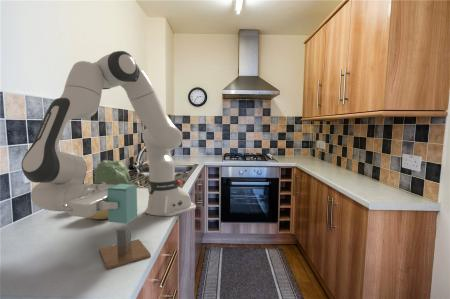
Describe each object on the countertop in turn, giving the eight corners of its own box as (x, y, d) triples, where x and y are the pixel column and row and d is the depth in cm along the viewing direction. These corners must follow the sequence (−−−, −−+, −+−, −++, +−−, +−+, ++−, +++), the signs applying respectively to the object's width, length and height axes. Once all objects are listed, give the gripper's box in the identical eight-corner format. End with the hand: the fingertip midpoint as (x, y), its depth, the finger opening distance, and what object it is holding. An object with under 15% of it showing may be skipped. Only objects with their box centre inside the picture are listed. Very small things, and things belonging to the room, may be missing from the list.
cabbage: (126, 200, 130) (125, 162, 128) (88, 201, 129) (86, 162, 127) (134, 192, 145) (133, 157, 143) (100, 192, 144) (99, 157, 142)
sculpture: (106, 210, 115) (105, 187, 114) (123, 215, 109) (122, 191, 108) (81, 218, 105) (79, 193, 104) (98, 224, 99) (97, 197, 98)
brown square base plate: (115, 239, 86) (115, 216, 86) (162, 243, 84) (162, 220, 83) (79, 266, 70) (77, 238, 69) (136, 273, 67) (135, 244, 66)
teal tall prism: (120, 215, 79) (119, 183, 78) (137, 216, 78) (136, 184, 77) (108, 221, 73) (107, 188, 72) (126, 223, 72) (126, 189, 71)
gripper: (55, 197, 67) (102, 201, 64) (104, 181, 87) (142, 183, 84) (56, 221, 67) (103, 225, 65) (105, 199, 87) (142, 201, 85)
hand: (125, 201), depth 75 cm, fingers closed on teal tall prism, 6 cm apart
